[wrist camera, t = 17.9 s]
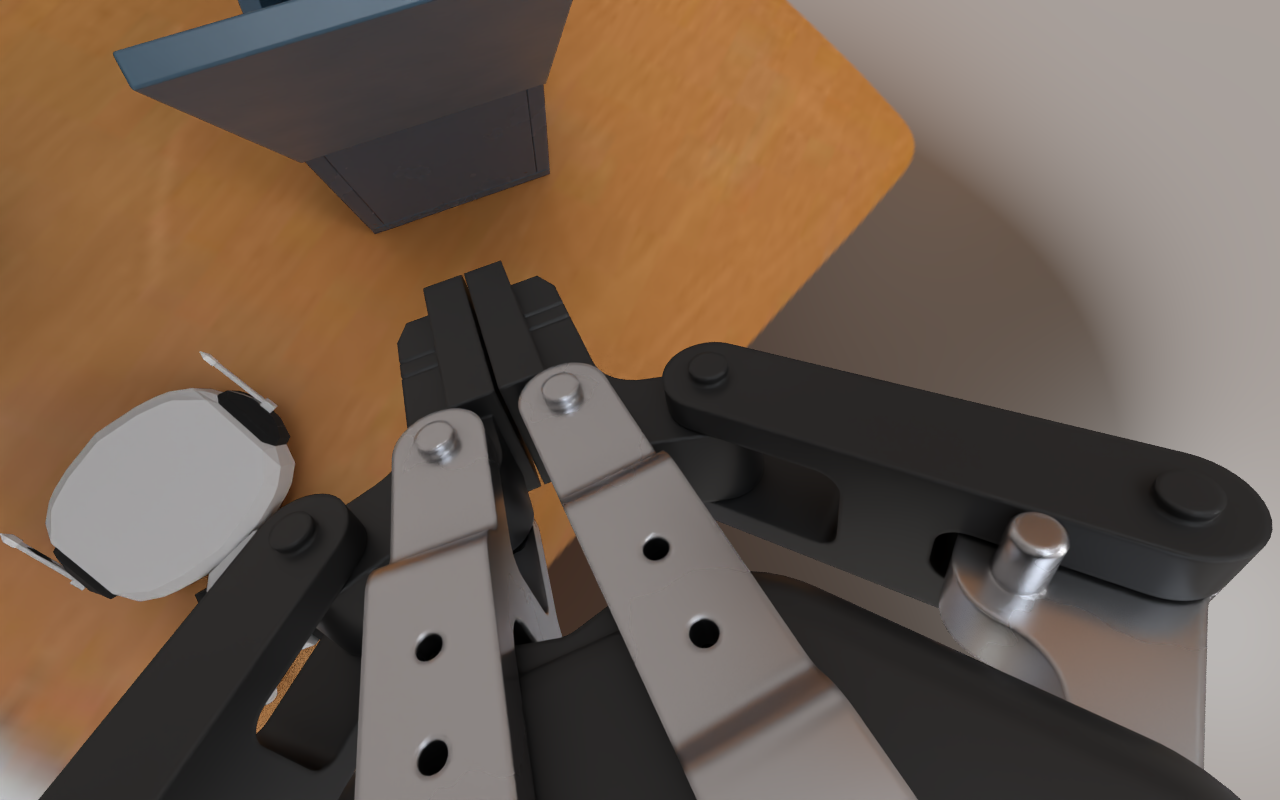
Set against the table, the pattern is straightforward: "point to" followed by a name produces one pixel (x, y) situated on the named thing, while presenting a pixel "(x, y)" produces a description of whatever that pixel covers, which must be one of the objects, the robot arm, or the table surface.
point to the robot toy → (169, 494)
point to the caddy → (438, 158)
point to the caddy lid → (347, 67)
